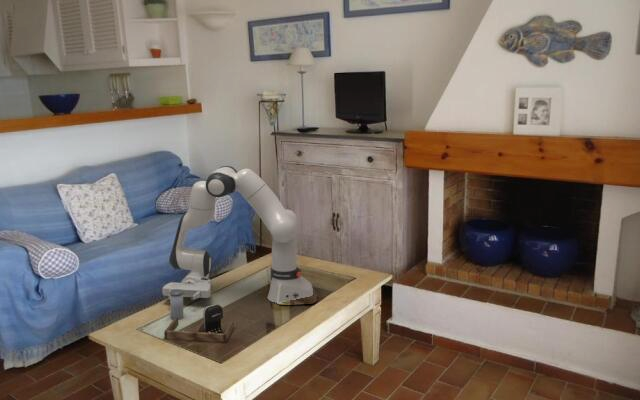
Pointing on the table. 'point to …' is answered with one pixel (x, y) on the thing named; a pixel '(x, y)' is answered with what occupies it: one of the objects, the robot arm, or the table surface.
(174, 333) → the dock
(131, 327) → the table surface
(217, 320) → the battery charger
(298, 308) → the table surface
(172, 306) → the canister
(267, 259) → the table surface
